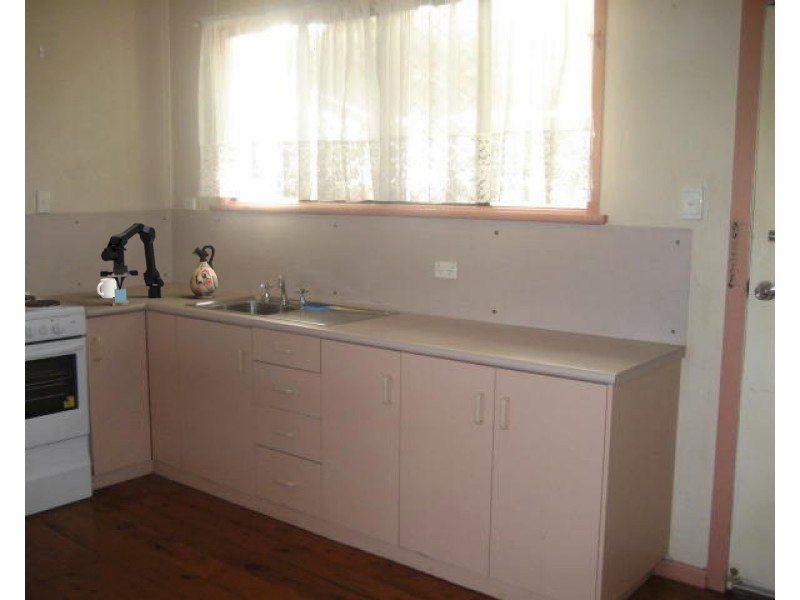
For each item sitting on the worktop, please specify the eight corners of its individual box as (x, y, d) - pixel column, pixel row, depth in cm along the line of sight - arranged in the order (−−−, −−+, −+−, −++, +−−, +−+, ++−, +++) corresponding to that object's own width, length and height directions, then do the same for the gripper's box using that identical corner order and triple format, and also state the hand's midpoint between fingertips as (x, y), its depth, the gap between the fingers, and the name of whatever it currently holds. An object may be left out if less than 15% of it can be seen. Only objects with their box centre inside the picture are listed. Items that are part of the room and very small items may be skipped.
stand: (128, 303, 426) (128, 290, 425) (128, 305, 419) (128, 292, 418) (112, 303, 424) (112, 290, 423) (112, 306, 416) (111, 292, 415)
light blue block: (126, 300, 424) (125, 288, 424) (126, 302, 419) (125, 289, 418) (115, 301, 423) (114, 288, 422) (115, 302, 418) (114, 290, 417)
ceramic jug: (191, 300, 438) (189, 245, 434) (189, 296, 453) (187, 243, 449) (222, 298, 444) (221, 245, 440) (219, 295, 458) (218, 243, 454)
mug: (102, 299, 440) (101, 281, 438) (92, 298, 444) (91, 280, 442) (120, 297, 450) (119, 278, 448) (110, 295, 454) (109, 277, 453)
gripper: (99, 261, 407) (100, 292, 410) (137, 260, 413) (138, 290, 415) (100, 259, 418) (101, 289, 420) (137, 258, 424) (138, 288, 426)
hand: (120, 289), depth 420 cm, fingers closed
